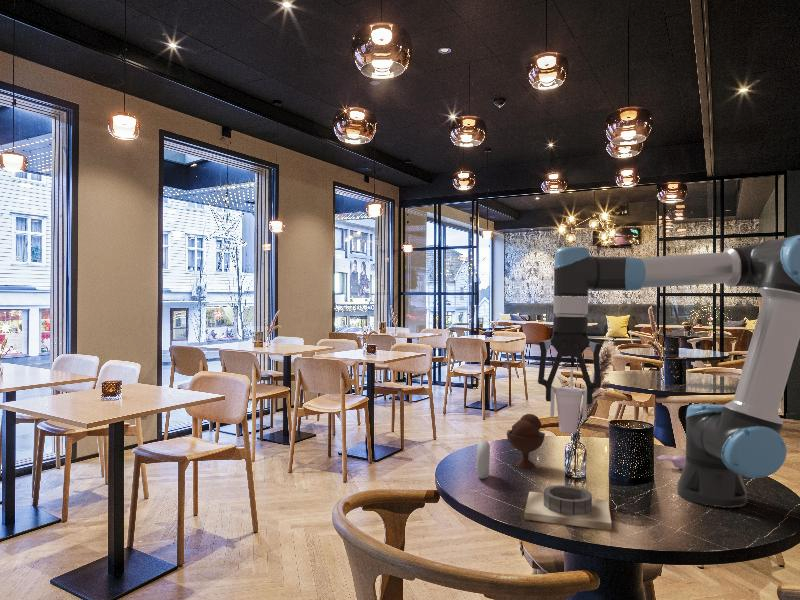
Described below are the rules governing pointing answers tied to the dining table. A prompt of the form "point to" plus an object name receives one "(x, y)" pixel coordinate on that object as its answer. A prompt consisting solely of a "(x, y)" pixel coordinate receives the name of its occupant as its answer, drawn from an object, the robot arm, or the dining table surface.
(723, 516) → the dining table surface
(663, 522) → the dining table surface
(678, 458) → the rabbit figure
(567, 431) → the smoothie
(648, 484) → the dining table surface
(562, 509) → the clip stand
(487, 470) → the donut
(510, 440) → the ice cream bowl
